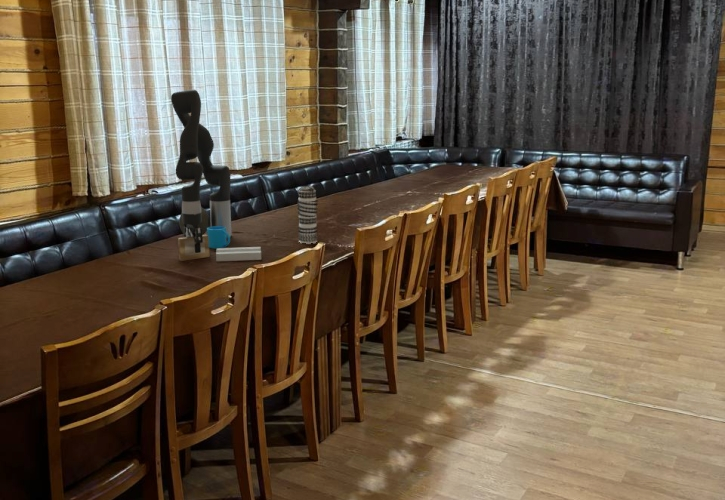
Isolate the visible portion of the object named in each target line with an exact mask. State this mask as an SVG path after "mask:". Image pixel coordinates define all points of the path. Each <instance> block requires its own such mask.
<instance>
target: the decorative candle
mask: <svg viewBox="0 0 725 500" xmlns="http://www.w3.org/2000/svg"><path fill="white" fill-rule="evenodd" d="M316 191H317V190H316V189H315V187H313V186H302V187H300V188H299V189H298V199H297V200H296V202H297V211H298V212H297V215H298V216H297V217H298V218H299V222H298V243H299V242H300V243H299V244H302V243H306V244H305V245H311V243H313V244H317V243H318V230H317V229H318V226H317V217H318V215H317V213H318V211H317V210H318V207H317V206H318V205H319V204H318V203H317V202H318V201H319V200H318V199H317V196H316V195H317V194H316V193H317V192H316ZM316 242H317V243H316Z"/></svg>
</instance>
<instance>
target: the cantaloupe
mask: <svg viewBox="0 0 725 500" xmlns="http://www.w3.org/2000/svg"><path fill="white" fill-rule="evenodd" d="M201 215H202V222H201V223H199V224H198V227H199V228H202V235H205V233H207V228H208V227H210V223H211V219H210V216H209V214H208V212H207V210H206V209H205V208H204V207H202V206H201ZM178 225H179V228H180V231H181V232H182V234H183V235H184V223H183V217H182V213H181V214H180V216H179V220H178Z"/></svg>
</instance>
